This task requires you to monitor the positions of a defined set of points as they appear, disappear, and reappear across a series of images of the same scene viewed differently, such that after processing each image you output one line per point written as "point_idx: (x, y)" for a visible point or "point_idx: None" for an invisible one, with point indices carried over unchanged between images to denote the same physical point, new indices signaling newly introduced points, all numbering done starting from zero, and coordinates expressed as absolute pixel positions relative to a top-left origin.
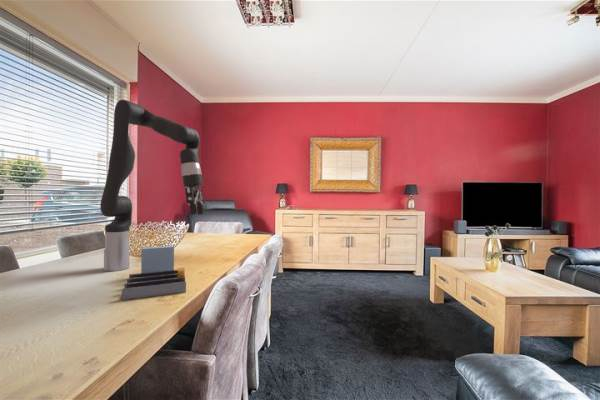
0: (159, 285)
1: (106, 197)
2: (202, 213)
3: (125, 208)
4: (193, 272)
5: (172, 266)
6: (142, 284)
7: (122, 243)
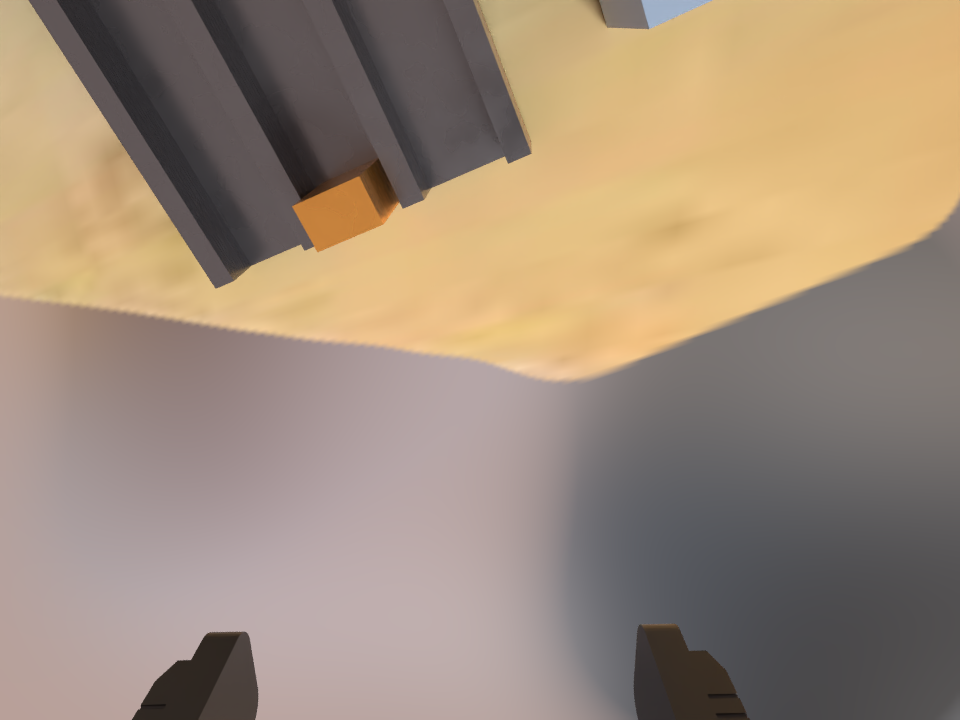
0: (120, 141)
1: None
2: (635, 698)
3: None
4: (679, 170)
5: (613, 14)
6: None
7: None
